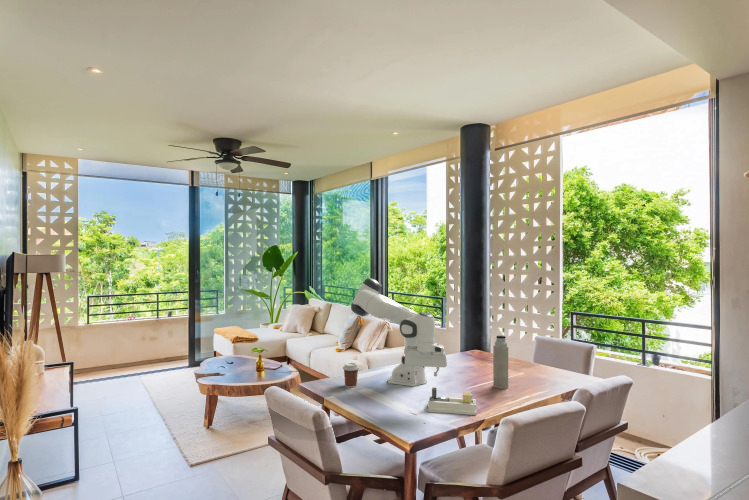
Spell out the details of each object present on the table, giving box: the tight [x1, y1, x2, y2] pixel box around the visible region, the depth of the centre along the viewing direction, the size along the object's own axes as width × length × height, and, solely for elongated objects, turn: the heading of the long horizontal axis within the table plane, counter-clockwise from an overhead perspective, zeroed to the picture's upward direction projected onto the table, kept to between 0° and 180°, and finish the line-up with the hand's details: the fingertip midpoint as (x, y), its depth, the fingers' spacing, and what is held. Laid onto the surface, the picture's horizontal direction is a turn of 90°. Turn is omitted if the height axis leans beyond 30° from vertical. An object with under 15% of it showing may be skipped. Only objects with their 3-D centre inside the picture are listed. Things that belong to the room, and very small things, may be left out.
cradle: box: [427, 395, 478, 416], centre depth 209 cm, size 22×12×4 cm, turn 79°
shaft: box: [429, 387, 450, 402], centre depth 210 cm, size 9×3×7 cm, turn 79°
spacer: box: [462, 392, 473, 403], centre depth 208 cm, size 4×4×6 cm
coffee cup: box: [342, 362, 360, 388], centre depth 245 cm, size 9×9×12 cm
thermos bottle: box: [492, 335, 509, 390], centre depth 245 cm, size 8×8×28 cm
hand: (425, 375), depth 212 cm, fingers open, 8 cm apart
